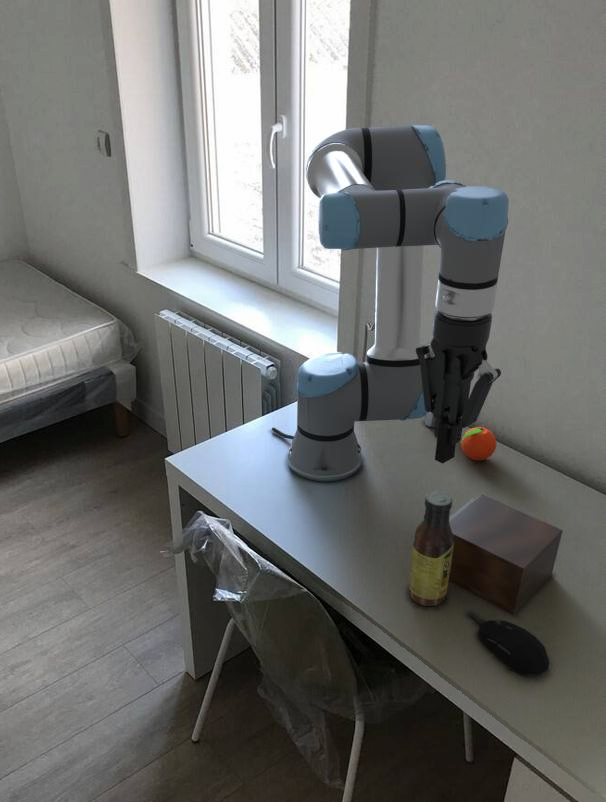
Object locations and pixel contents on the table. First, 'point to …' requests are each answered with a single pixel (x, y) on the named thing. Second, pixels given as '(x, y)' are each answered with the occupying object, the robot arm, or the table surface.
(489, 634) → the gaming mouse
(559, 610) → the table surface
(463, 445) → the clementine
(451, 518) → the drawer
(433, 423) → the salt shaker
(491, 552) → the cabinet
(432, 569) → the sauce bottle
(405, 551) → the table surface
